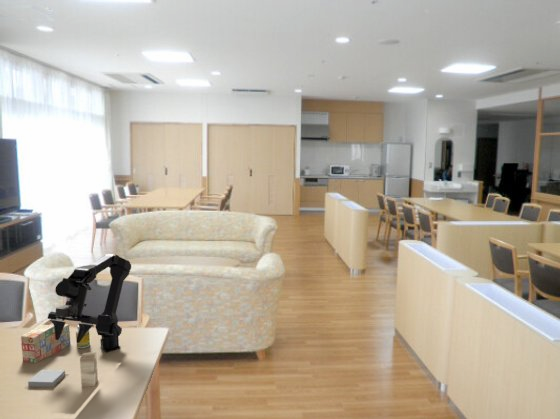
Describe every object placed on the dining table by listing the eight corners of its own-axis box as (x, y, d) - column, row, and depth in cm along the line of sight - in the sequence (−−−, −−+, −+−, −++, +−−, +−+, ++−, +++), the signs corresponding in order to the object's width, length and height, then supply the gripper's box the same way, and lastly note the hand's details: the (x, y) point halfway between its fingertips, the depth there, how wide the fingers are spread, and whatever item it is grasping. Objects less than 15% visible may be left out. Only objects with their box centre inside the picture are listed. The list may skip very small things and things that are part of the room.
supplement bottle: (76, 344, 209) (75, 324, 208) (89, 342, 211) (88, 322, 210) (77, 349, 204) (75, 328, 203) (90, 347, 207) (89, 326, 205)
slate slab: (41, 374, 179) (41, 369, 179) (65, 375, 179) (64, 370, 179) (28, 386, 171) (28, 381, 170) (52, 387, 170) (52, 382, 170)
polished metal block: (85, 383, 175) (83, 352, 174) (97, 382, 176) (96, 352, 174) (81, 389, 171) (79, 358, 169) (94, 389, 172) (93, 357, 170)
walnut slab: (41, 378, 181) (41, 373, 180) (69, 379, 180) (69, 374, 180) (24, 393, 170) (24, 388, 170) (54, 394, 169) (54, 389, 169)
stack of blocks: (58, 343, 211) (56, 316, 210) (70, 344, 210) (69, 317, 208) (22, 364, 191) (20, 335, 189) (36, 366, 189) (34, 336, 188)
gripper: (42, 294, 179) (31, 337, 174) (85, 299, 174) (74, 342, 169) (62, 299, 189) (52, 339, 185) (102, 303, 184) (93, 344, 180)
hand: (67, 341), depth 179 cm, fingers open, 9 cm apart
